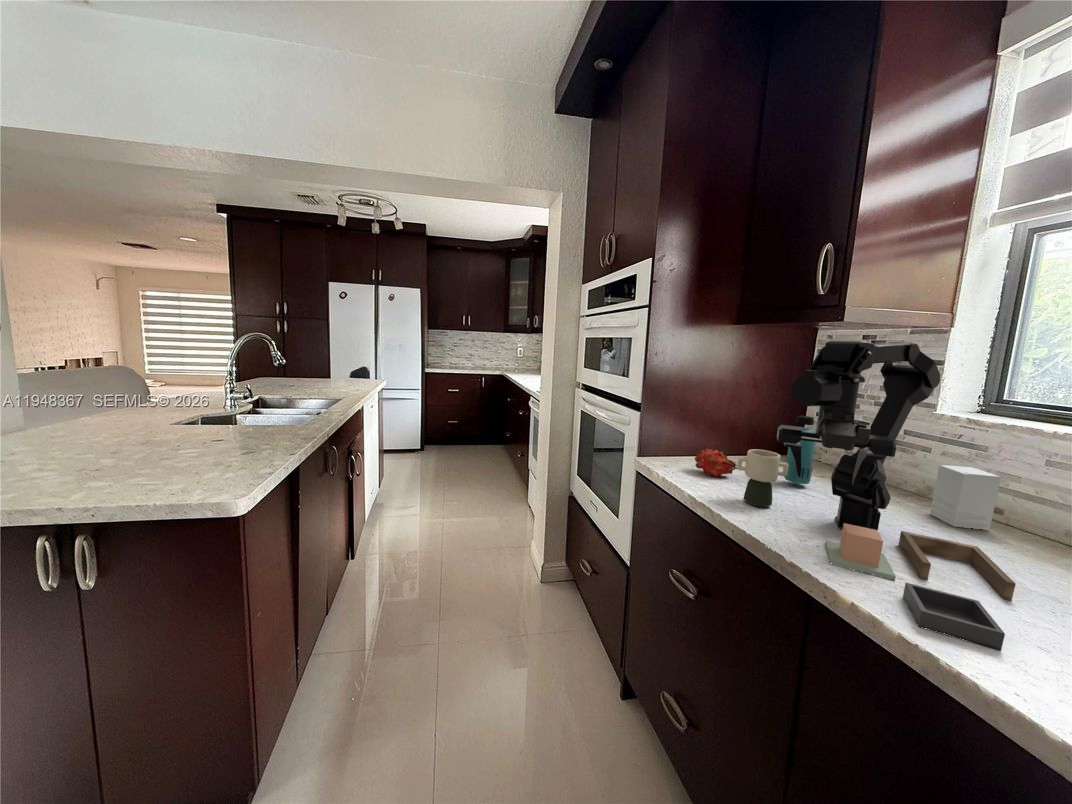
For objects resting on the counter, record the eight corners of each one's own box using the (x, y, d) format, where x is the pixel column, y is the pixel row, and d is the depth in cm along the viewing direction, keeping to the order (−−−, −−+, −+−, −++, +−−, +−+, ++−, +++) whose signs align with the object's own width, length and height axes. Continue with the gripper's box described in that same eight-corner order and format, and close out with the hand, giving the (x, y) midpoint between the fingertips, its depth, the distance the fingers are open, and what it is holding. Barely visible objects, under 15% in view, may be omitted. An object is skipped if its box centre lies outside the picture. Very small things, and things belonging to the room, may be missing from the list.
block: (843, 559, 74) (847, 533, 73) (839, 547, 78) (843, 523, 78) (878, 567, 72) (883, 541, 71) (872, 555, 76) (876, 530, 75)
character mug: (779, 502, 102) (786, 452, 100) (785, 513, 96) (793, 460, 94) (731, 495, 106) (737, 446, 104) (734, 505, 100) (740, 453, 98)
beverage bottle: (799, 490, 112) (810, 419, 109) (777, 482, 118) (786, 414, 115) (815, 488, 115) (826, 418, 112) (792, 480, 121) (802, 413, 118)
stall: (919, 578, 70) (923, 562, 70) (898, 544, 83) (901, 530, 82) (1011, 600, 65) (1015, 583, 65) (974, 561, 77) (977, 546, 77)
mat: (830, 564, 74) (831, 560, 74) (825, 543, 81) (825, 540, 81) (894, 580, 69) (895, 576, 69) (882, 557, 77) (883, 553, 77)
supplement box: (991, 531, 91) (1003, 476, 89) (952, 526, 93) (963, 473, 91) (964, 517, 98) (975, 467, 96) (928, 513, 100) (938, 463, 98)
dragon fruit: (690, 474, 127) (731, 489, 121) (689, 464, 120) (732, 479, 114) (699, 450, 129) (739, 463, 123) (698, 439, 122) (741, 452, 116)
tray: (918, 626, 58) (921, 610, 57) (902, 596, 65) (905, 582, 64) (1000, 650, 54) (1005, 633, 53) (974, 616, 61) (978, 600, 60)
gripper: (784, 404, 78) (774, 483, 80) (912, 417, 69) (896, 504, 72) (781, 398, 88) (772, 468, 90) (893, 408, 79) (880, 485, 81)
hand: (825, 480), depth 83 cm, fingers open, 9 cm apart
